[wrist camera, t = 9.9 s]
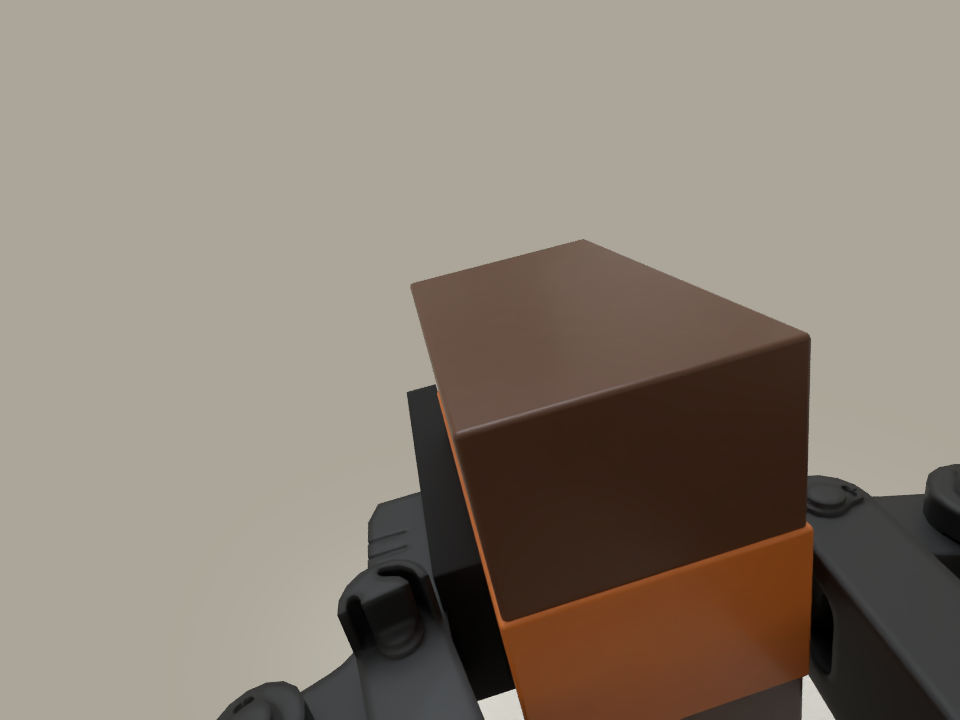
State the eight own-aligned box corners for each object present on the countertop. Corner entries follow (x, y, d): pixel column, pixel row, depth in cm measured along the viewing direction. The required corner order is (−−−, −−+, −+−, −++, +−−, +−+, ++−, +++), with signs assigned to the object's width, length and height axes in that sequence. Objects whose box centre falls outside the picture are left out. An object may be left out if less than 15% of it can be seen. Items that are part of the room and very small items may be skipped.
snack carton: (644, 659, 15) (586, 237, 11) (802, 955, 10) (823, 331, 5) (521, 700, 15) (406, 283, 10) (610, 1029, 9) (446, 440, 5)
